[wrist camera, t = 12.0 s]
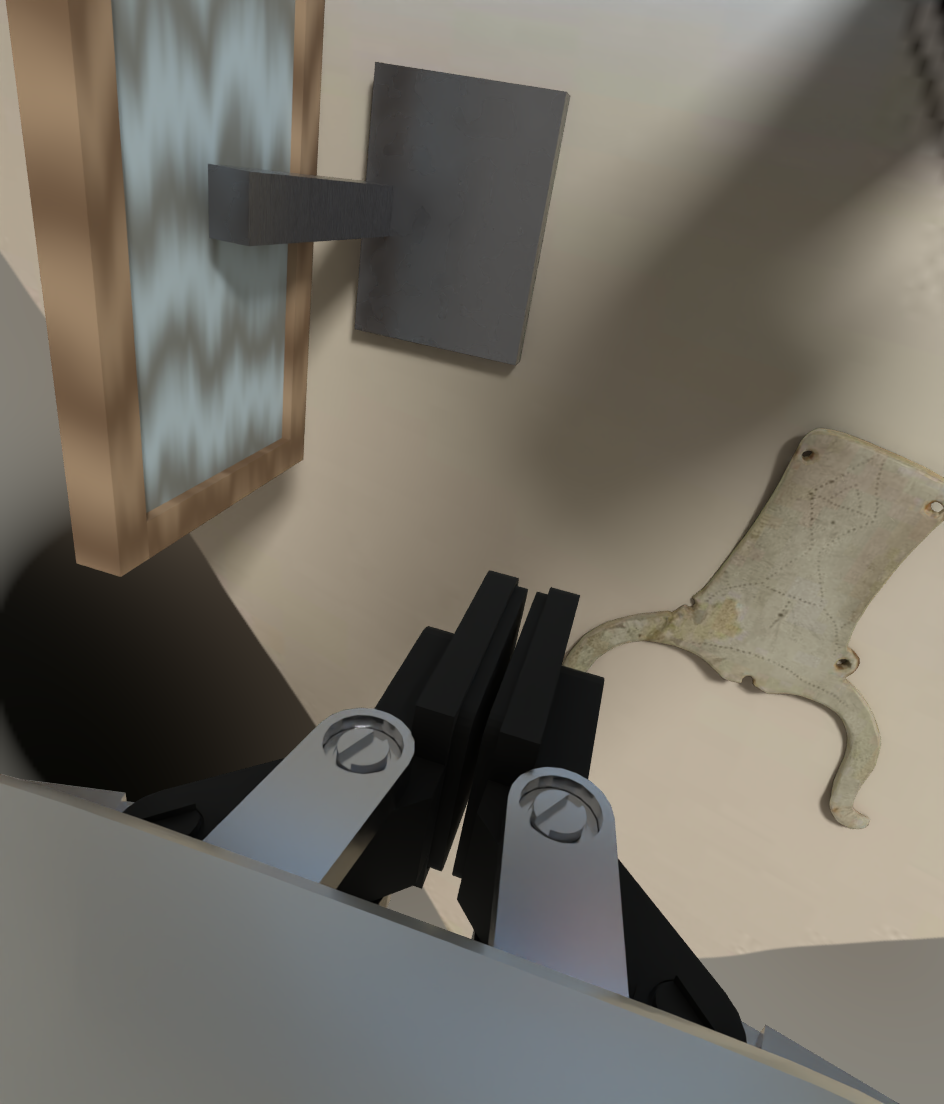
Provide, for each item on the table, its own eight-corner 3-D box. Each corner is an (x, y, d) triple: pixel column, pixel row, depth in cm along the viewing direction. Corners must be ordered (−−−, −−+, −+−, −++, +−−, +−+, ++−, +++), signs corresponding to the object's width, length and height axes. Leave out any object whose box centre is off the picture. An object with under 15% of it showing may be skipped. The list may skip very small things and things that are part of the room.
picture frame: (277, -173, 34) (-75, -511, 18) (332, -167, 33) (20, -510, 17) (265, 449, 49) (67, 560, 33) (303, 459, 48) (120, 576, 32)
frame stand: (384, 66, 44) (204, -25, 27) (570, 95, 42) (497, 17, 25) (362, 326, 51) (211, 378, 35) (519, 361, 49) (438, 434, 33)
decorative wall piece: (651, 364, 48) (525, 689, 62) (649, 372, 45) (518, 710, 60) (1104, 512, 45) (861, 822, 59) (1130, 530, 42) (869, 849, 56)
